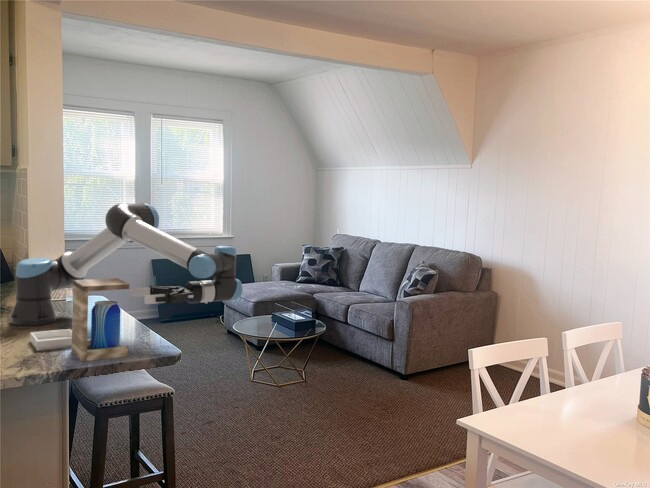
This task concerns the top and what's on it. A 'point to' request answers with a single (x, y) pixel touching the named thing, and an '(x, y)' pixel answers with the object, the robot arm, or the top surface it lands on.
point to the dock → (81, 319)
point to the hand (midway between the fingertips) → (137, 296)
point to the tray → (51, 339)
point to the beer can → (105, 325)
